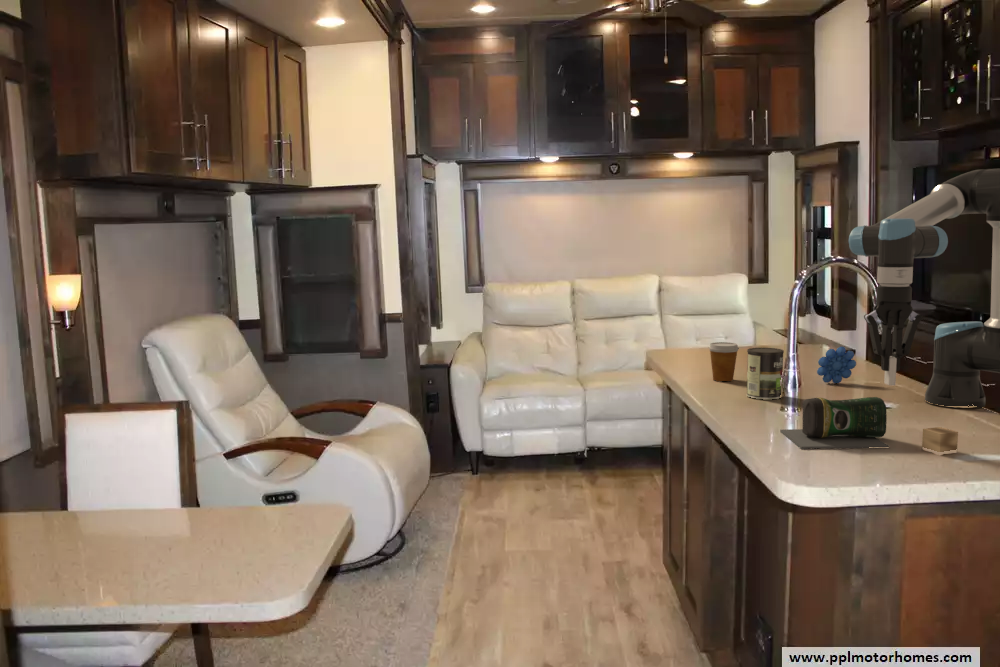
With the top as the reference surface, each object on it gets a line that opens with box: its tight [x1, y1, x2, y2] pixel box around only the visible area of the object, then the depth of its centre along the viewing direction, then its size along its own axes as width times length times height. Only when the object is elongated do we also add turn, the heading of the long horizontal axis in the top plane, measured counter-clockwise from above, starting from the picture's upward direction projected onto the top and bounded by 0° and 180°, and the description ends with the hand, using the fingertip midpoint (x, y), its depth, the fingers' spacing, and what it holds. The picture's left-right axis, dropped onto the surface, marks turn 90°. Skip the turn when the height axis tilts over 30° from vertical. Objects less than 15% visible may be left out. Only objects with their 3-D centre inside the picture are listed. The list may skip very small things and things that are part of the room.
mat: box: [780, 428, 890, 450], centre depth 205 cm, size 20×16×1 cm
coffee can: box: [746, 347, 785, 401], centre depth 254 cm, size 10×10×14 cm
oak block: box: [921, 426, 959, 452], centre depth 193 cm, size 5×5×5 cm
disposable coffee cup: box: [708, 341, 739, 382], centre depth 280 cm, size 10×10×12 cm
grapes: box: [816, 346, 857, 384], centre depth 272 cm, size 12×7×12 cm, turn 78°
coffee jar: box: [802, 396, 888, 439], centre depth 205 cm, size 10×8×19 cm
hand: (889, 384), depth 203 cm, fingers closed
